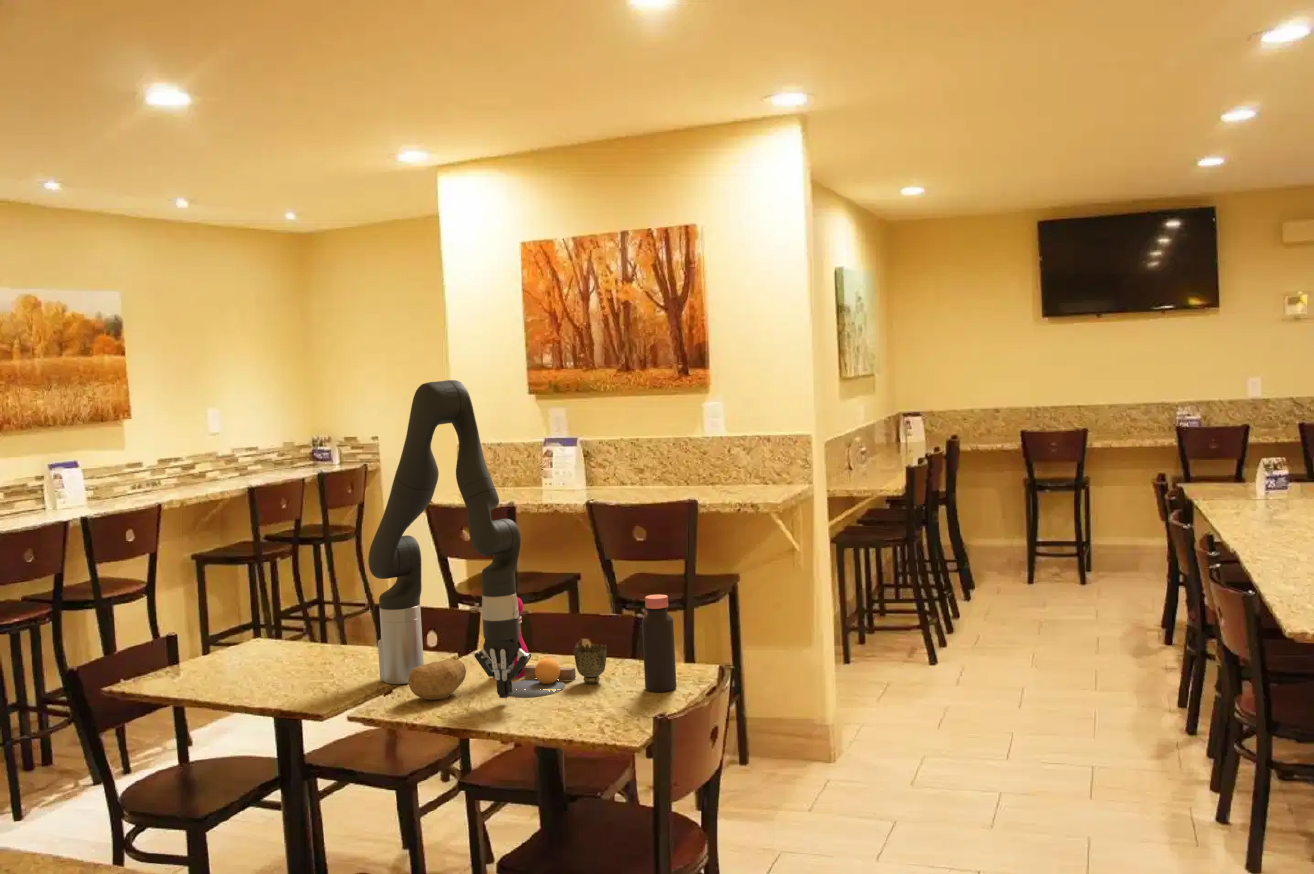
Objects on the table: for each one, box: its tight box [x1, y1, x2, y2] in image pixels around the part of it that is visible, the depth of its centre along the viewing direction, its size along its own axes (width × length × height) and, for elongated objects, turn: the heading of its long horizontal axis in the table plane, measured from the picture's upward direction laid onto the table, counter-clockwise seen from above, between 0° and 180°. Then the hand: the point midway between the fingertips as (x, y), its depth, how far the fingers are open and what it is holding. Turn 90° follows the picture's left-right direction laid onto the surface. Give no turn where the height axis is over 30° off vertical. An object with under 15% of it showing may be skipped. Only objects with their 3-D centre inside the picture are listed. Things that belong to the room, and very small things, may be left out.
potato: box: [407, 658, 467, 701], centre depth 234 cm, size 10×14×8 cm
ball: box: [535, 658, 561, 684], centre depth 241 cm, size 6×6×6 cm
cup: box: [572, 643, 608, 685], centre depth 240 cm, size 8×7×8 cm
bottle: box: [641, 593, 677, 693], centre depth 232 cm, size 7×7×20 cm
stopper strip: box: [524, 664, 577, 681], centre depth 245 cm, size 12×2×2 cm, turn 68°
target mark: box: [509, 678, 566, 698], centre depth 238 cm, size 14×14×1 cm
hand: (505, 696), depth 227 cm, fingers closed
